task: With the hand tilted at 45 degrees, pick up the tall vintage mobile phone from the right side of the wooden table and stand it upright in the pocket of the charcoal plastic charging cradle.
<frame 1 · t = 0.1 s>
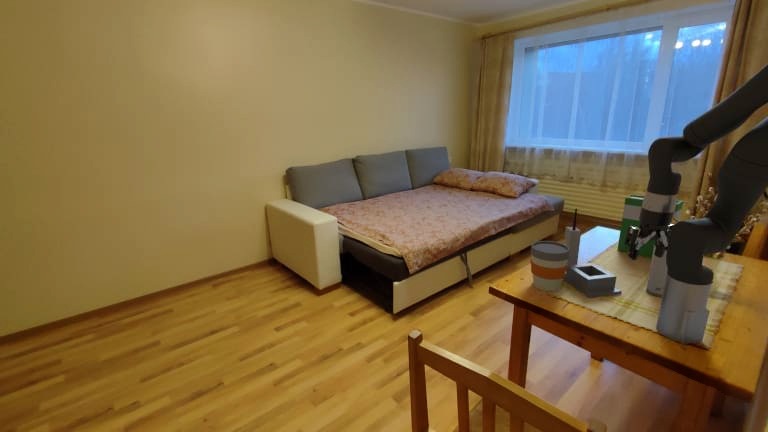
hand: (645, 257, 106), 17 cm above the table, tool pointing down, fingers open, 8 cm apart
vintage mobile phone: (568, 268, 140), on the table
reusable coffee cup: (546, 285, 127), on the table
charging cradle: (588, 285, 126), on the table
hardback book: (643, 253, 150), on the table
travel mug: (657, 293, 119), on the table
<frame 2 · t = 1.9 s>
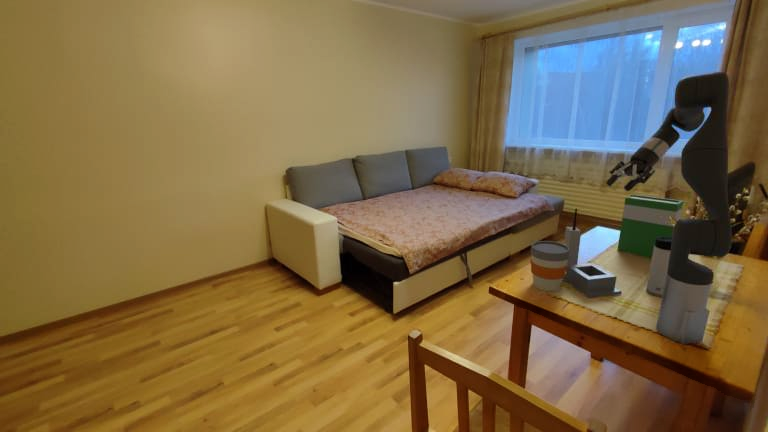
hand: (616, 187, 128), 33 cm above the table, tool tilted 45°, fingers open, 8 cm apart
nothing on the table moved.
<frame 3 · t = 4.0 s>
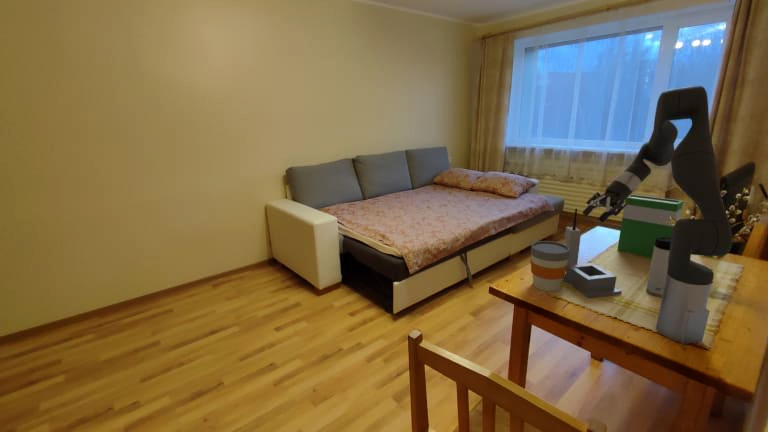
hand: (591, 217, 135), 21 cm above the table, tool tilted 45°, fingers open, 8 cm apart
nothing on the table moved.
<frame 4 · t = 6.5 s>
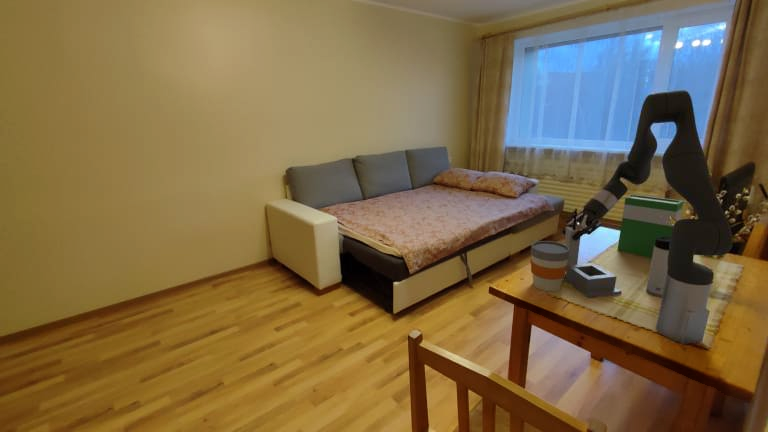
hand: (568, 236, 135), 14 cm above the table, tool tilted 45°, fingers closed on vintage mobile phone, 5 cm apart
vintage mobile phone: (568, 268, 140), on the table, touching gripper
everything else where it was.
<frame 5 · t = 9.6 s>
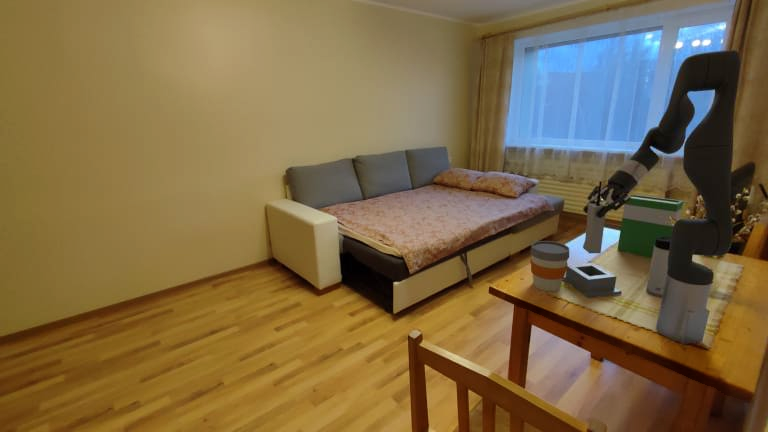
hand: (591, 213, 119), 27 cm above the table, tool tilted 45°, fingers closed on vintage mobile phone, 5 cm apart
vintage mobile phone: (591, 251, 123), point 13 cm above the table, touching gripper
everything else where it was.
when the fingers open (16 cm above the table, at t = 12.9 s): vintage mobile phone drops 1 cm, resting on charging cradle.
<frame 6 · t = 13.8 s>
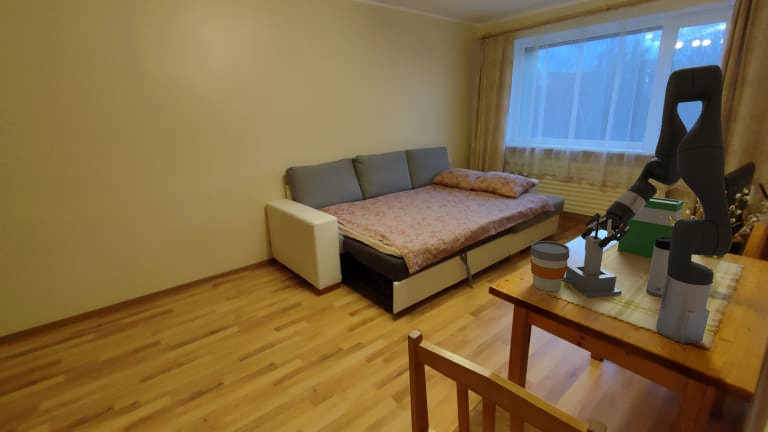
hand: (590, 242, 121), 17 cm above the table, tool tilted 45°, fingers open, 8 cm apart
vintage mobile phone: (589, 282, 126), point 1 cm above the table, touching charging cradle
everything else where it was.
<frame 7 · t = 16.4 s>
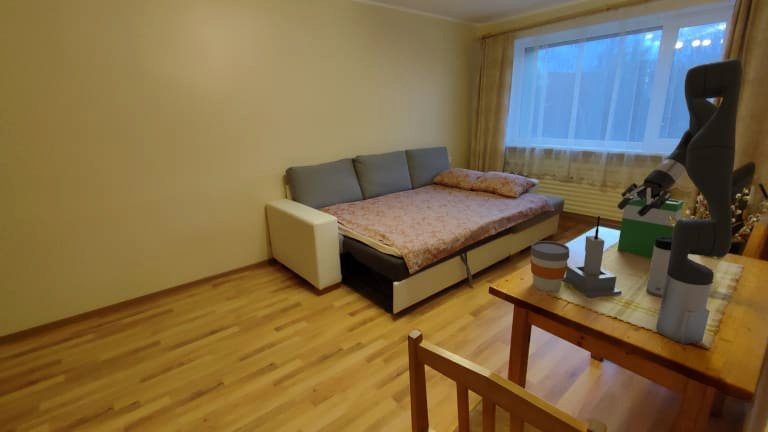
hand: (628, 211, 120), 27 cm above the table, tool tilted 45°, fingers open, 8 cm apart
nothing on the table moved.
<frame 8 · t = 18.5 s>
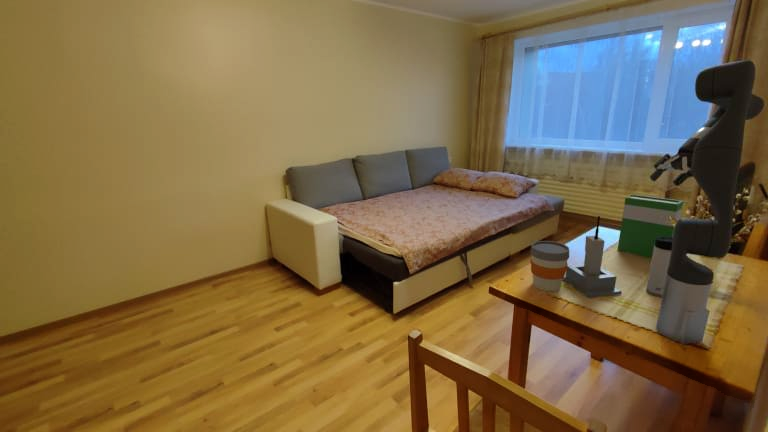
hand: (663, 181, 116), 37 cm above the table, tool tilted 45°, fingers open, 8 cm apart
nothing on the table moved.
at the end: vintage mobile phone 0.3 cm off-centre on the charging cradle, point 1.0 cm above the charging cradle's base; vintage mobile phone tilted 0°; the gripper is holding nothing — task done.
